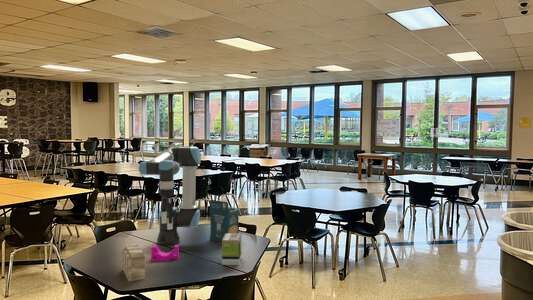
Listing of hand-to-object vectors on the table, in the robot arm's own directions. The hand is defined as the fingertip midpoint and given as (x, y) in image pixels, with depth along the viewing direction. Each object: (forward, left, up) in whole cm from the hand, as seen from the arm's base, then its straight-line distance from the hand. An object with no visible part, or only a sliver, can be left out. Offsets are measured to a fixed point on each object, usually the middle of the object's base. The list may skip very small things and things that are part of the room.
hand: (167, 226), depth 223 cm
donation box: (-37, +50, -23) cm, 66 cm away
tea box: (+9, +35, -23) cm, 43 cm away
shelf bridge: (+6, -18, -22) cm, 29 cm away
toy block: (-12, +2, -23) cm, 26 cm away
